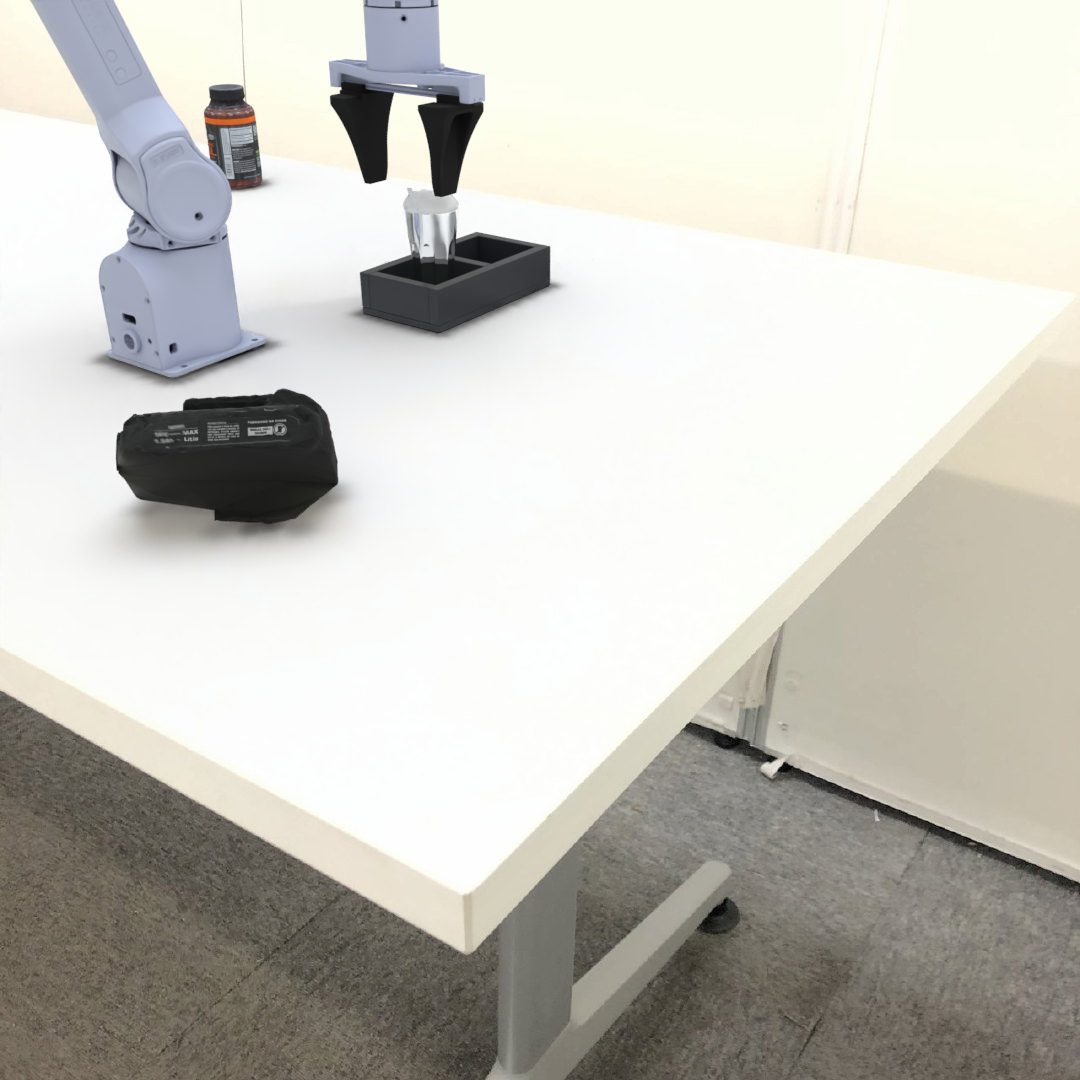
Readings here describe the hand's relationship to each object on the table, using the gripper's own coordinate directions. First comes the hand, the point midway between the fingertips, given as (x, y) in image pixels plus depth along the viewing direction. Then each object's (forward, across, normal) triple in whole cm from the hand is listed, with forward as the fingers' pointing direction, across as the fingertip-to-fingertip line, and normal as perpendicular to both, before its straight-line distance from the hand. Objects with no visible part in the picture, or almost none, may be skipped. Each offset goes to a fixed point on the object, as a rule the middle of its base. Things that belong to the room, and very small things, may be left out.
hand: (409, 188), depth 92 cm
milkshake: (+10, -1, -1) cm, 10 cm away
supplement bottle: (+10, +49, -23) cm, 55 cm away
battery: (+10, -16, +34) cm, 39 cm away
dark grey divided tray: (+10, -1, -4) cm, 11 cm away
